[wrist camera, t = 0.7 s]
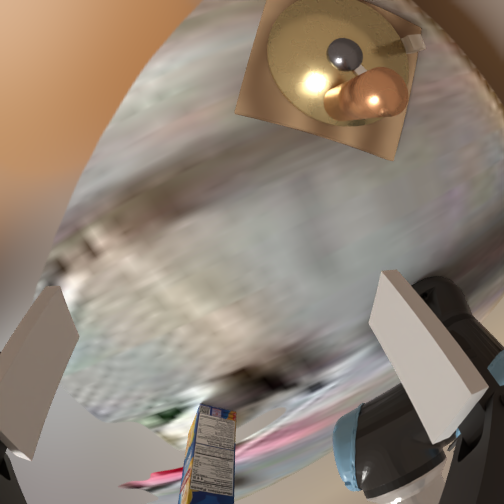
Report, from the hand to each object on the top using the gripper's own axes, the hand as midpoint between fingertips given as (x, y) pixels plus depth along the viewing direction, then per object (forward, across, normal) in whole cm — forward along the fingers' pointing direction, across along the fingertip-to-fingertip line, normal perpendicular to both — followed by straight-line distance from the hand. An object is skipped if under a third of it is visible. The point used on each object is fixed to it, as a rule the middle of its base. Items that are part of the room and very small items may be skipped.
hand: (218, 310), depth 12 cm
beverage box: (+23, +5, +46) cm, 52 cm away
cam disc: (+26, -14, -14) cm, 32 cm away
